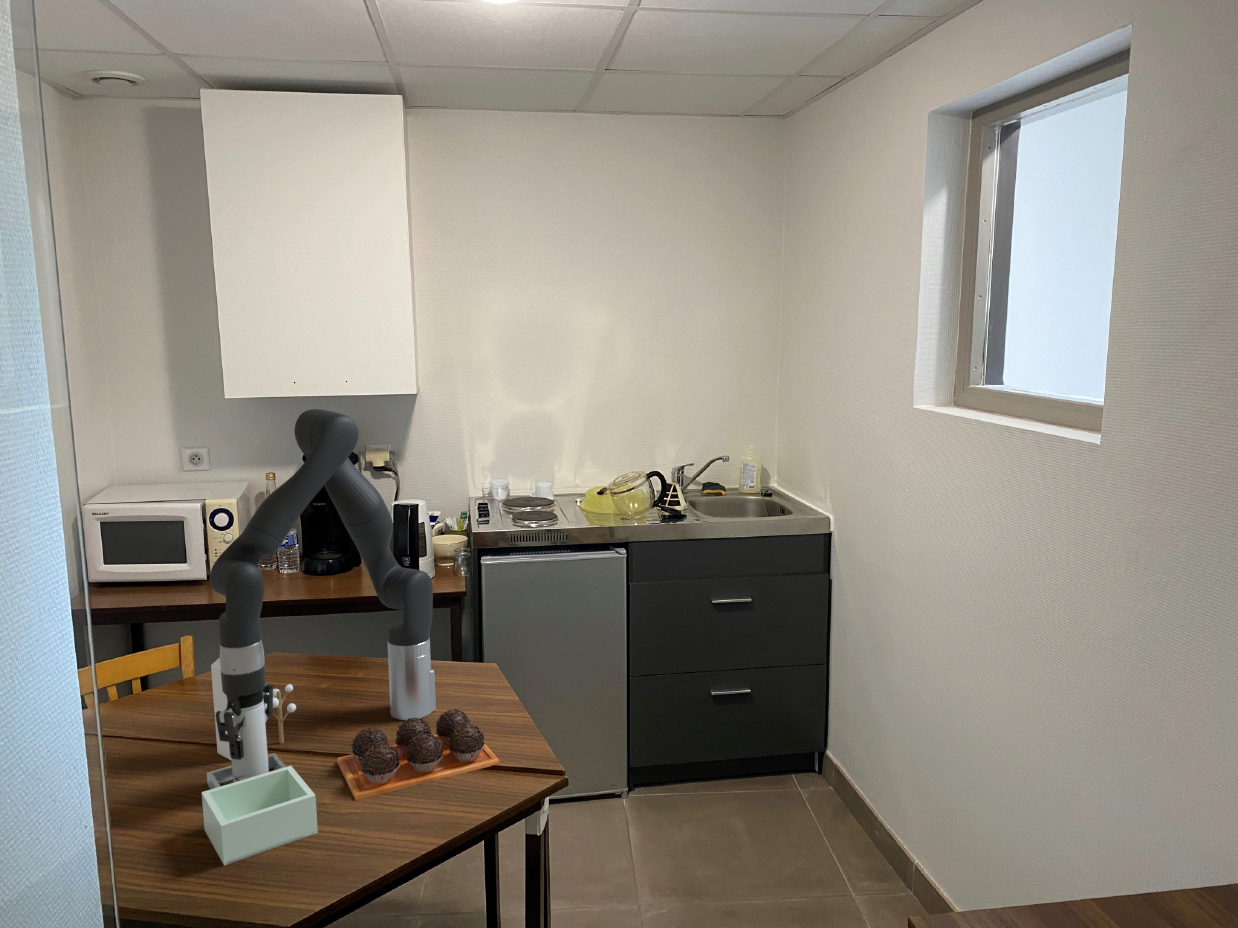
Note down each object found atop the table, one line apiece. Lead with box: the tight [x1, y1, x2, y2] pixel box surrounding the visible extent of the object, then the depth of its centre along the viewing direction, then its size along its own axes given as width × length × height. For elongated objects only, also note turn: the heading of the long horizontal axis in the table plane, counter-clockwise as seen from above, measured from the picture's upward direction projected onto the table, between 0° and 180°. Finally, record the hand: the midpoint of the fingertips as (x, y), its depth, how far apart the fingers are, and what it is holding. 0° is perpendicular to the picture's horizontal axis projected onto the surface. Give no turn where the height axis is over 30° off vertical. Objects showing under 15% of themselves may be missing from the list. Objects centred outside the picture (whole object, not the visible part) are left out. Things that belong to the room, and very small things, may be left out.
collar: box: [206, 752, 287, 790], centre depth 164 cm, size 13×12×2 cm
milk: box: [210, 657, 232, 762], centre depth 176 cm, size 6×6×22 cm
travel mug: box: [227, 690, 270, 783], centre depth 162 cm, size 6×7×20 cm
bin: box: [201, 765, 319, 866], centre depth 148 cm, size 15×13×7 cm
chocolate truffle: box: [336, 708, 500, 801], centre depth 172 cm, size 28×17×8 cm, turn 119°
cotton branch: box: [264, 683, 297, 744], centre depth 181 cm, size 7×6×12 cm
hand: (249, 749), depth 163 cm, fingers closed on travel mug, 6 cm apart
